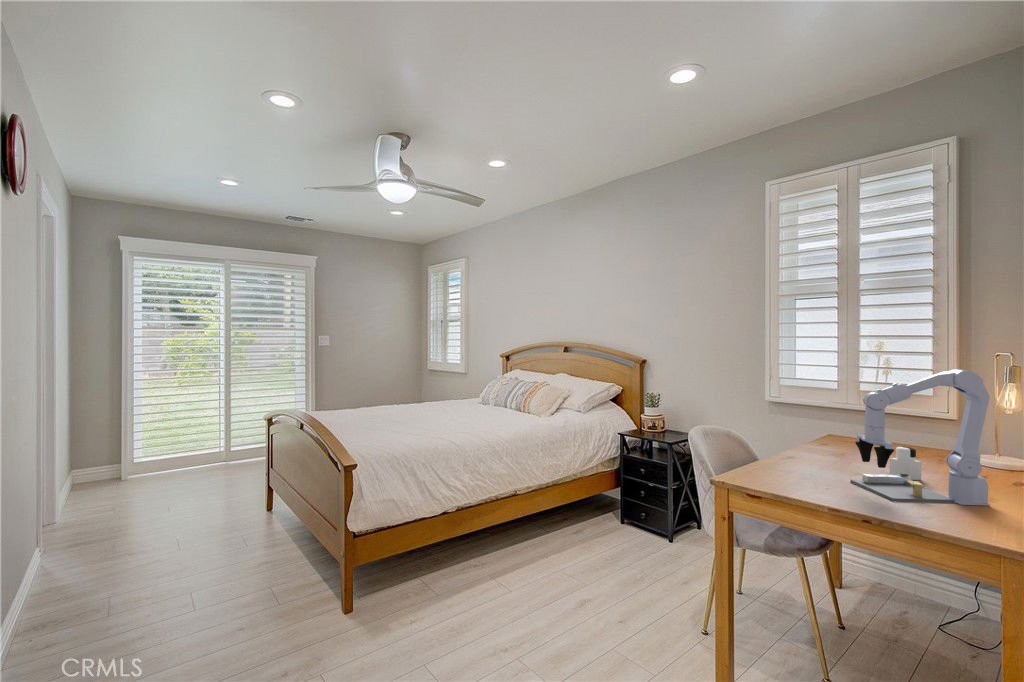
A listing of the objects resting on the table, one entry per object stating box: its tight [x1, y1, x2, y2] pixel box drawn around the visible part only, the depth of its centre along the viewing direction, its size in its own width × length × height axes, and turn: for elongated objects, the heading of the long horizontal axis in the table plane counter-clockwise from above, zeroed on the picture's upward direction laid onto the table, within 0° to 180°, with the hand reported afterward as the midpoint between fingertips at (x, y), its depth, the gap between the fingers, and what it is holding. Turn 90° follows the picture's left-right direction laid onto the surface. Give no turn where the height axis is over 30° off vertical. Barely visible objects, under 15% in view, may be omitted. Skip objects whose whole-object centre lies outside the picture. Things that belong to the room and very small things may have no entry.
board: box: [849, 473, 955, 504], centre depth 171 cm, size 20×21×5 cm
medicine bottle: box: [889, 445, 923, 481], centre depth 189 cm, size 7×7×12 cm
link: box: [861, 473, 911, 484], centre depth 178 cm, size 16×4×2 cm, turn 89°
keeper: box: [907, 480, 924, 498], centre depth 166 cm, size 6×3×4 cm, turn 154°
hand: (873, 464), depth 172 cm, fingers open, 7 cm apart
